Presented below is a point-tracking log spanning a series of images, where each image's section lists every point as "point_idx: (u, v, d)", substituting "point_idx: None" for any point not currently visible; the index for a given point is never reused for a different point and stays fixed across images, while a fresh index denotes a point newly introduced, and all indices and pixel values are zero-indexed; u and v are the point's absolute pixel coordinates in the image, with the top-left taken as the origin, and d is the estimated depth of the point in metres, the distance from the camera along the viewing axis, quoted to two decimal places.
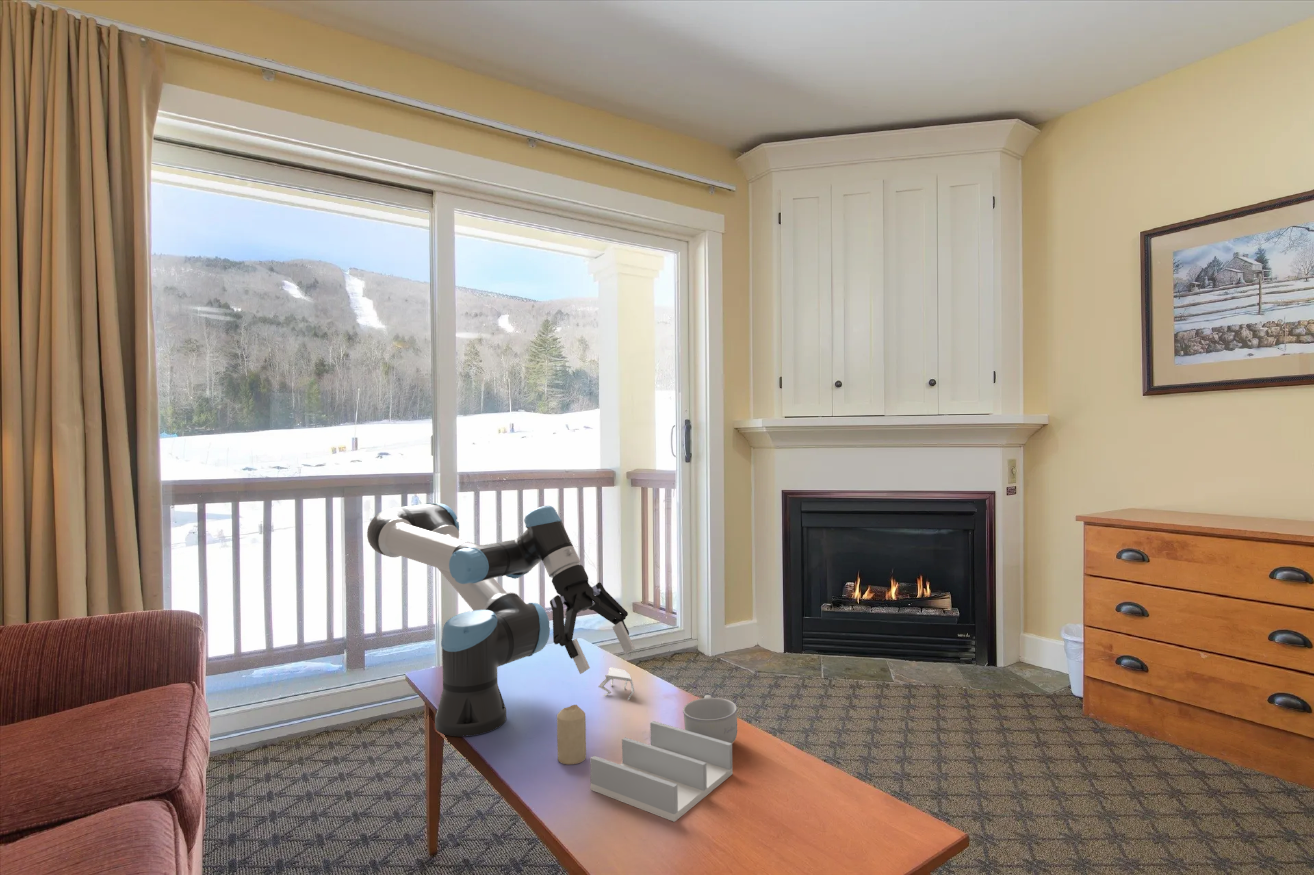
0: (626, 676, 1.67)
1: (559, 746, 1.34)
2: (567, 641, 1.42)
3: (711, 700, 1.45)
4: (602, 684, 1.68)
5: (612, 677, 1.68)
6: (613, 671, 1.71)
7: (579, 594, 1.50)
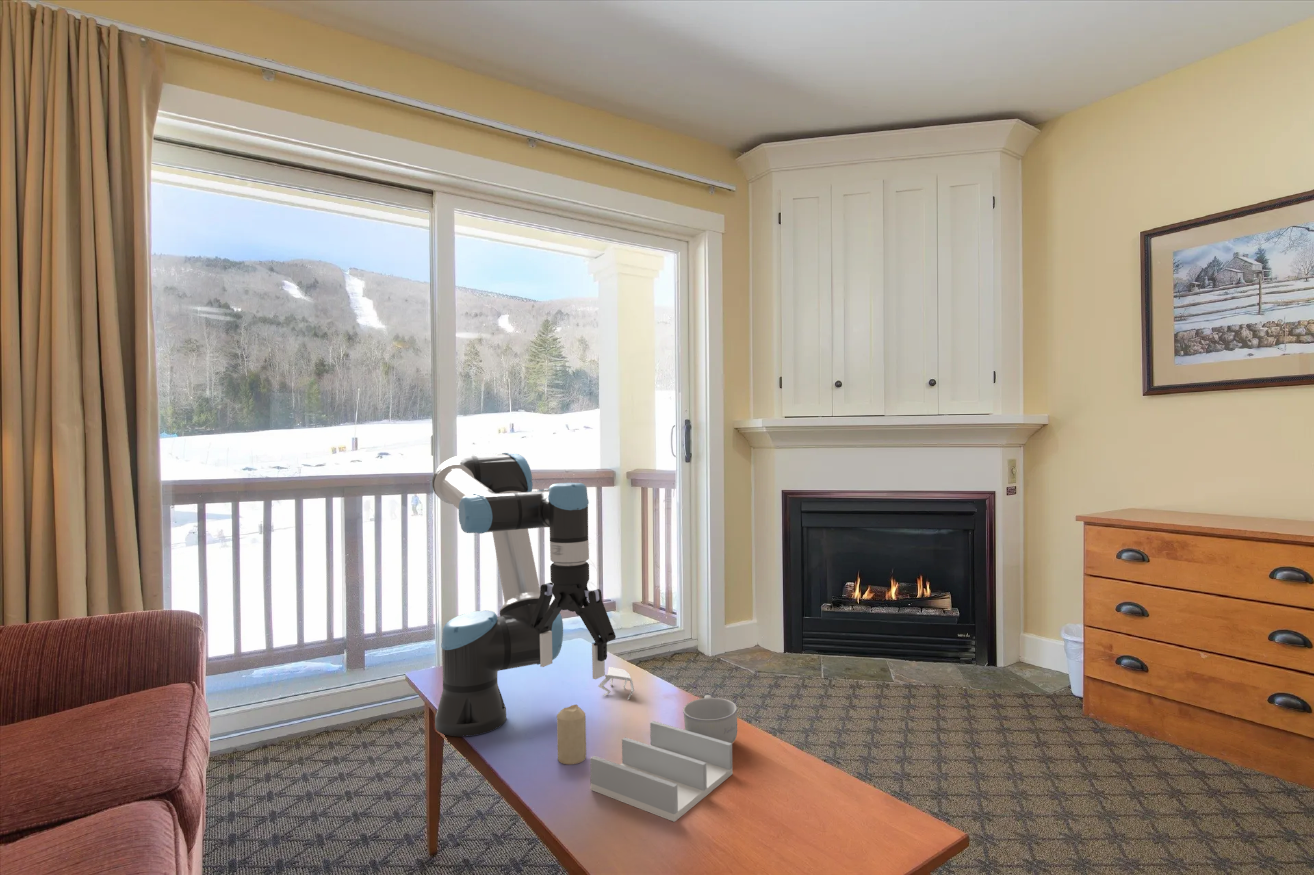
0: (626, 676, 1.67)
1: (559, 746, 1.34)
2: None
3: (711, 700, 1.45)
4: (602, 684, 1.68)
5: (612, 677, 1.68)
6: (612, 670, 1.71)
7: (559, 595, 1.35)
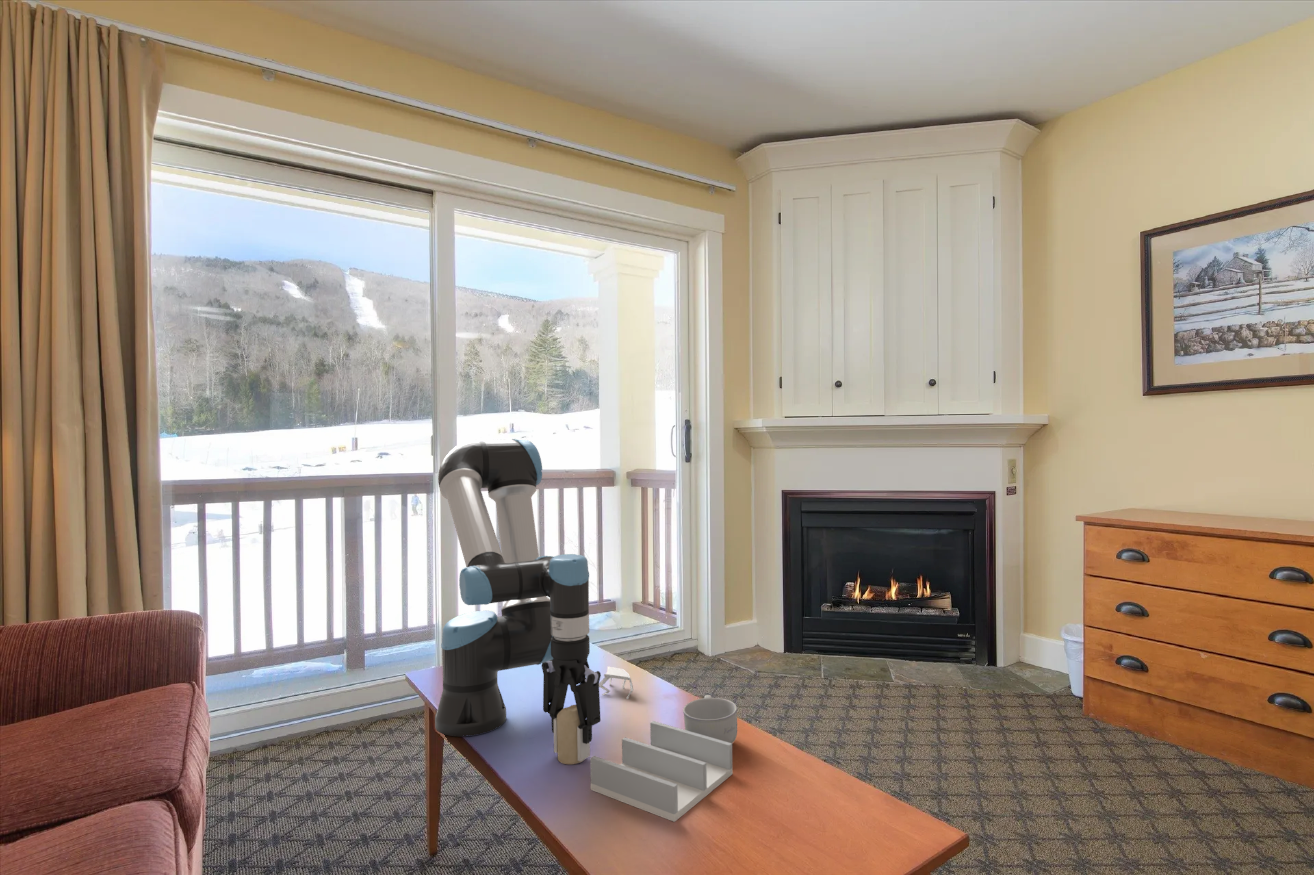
0: (625, 675, 1.68)
1: (559, 746, 1.34)
2: None
3: (711, 700, 1.45)
4: (601, 683, 1.68)
5: (611, 676, 1.68)
6: (611, 670, 1.72)
7: (558, 669, 1.35)
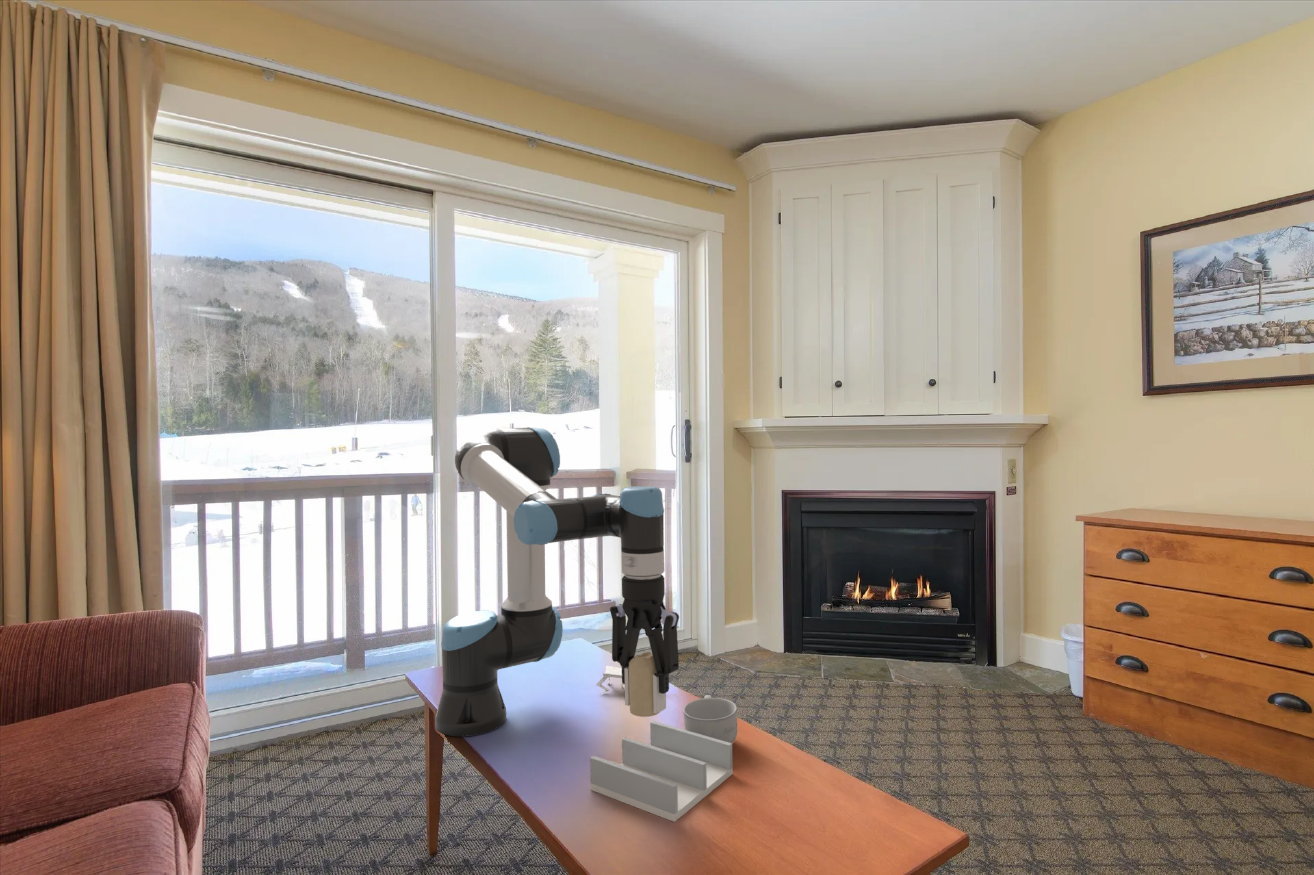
0: None
1: (632, 697, 1.21)
2: None
3: (711, 700, 1.45)
4: (600, 682, 1.69)
5: (610, 675, 1.69)
6: (610, 669, 1.72)
7: (631, 612, 1.22)
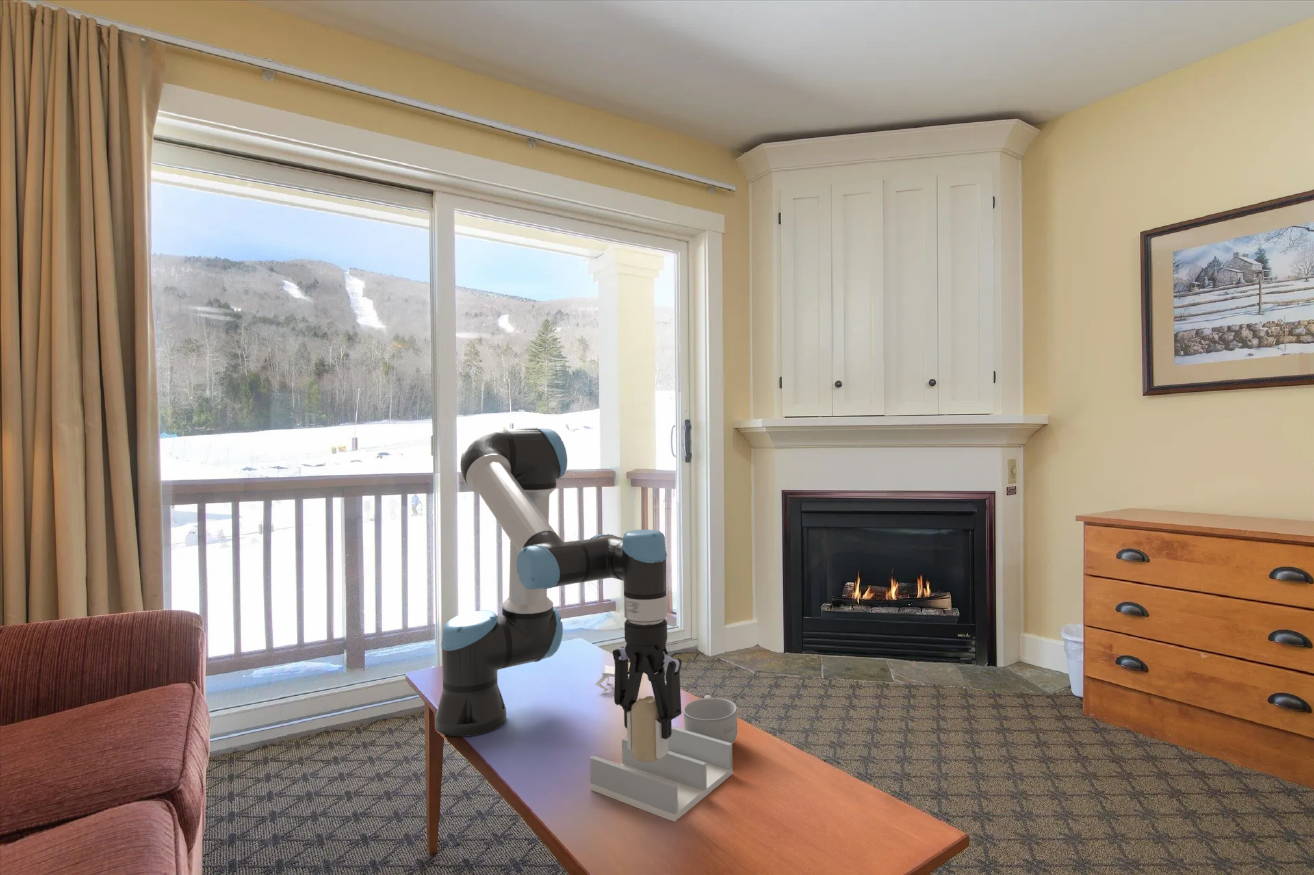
0: None
1: (635, 742, 1.21)
2: None
3: (711, 700, 1.45)
4: (599, 682, 1.69)
5: (609, 675, 1.69)
6: (609, 668, 1.73)
7: (634, 656, 1.21)
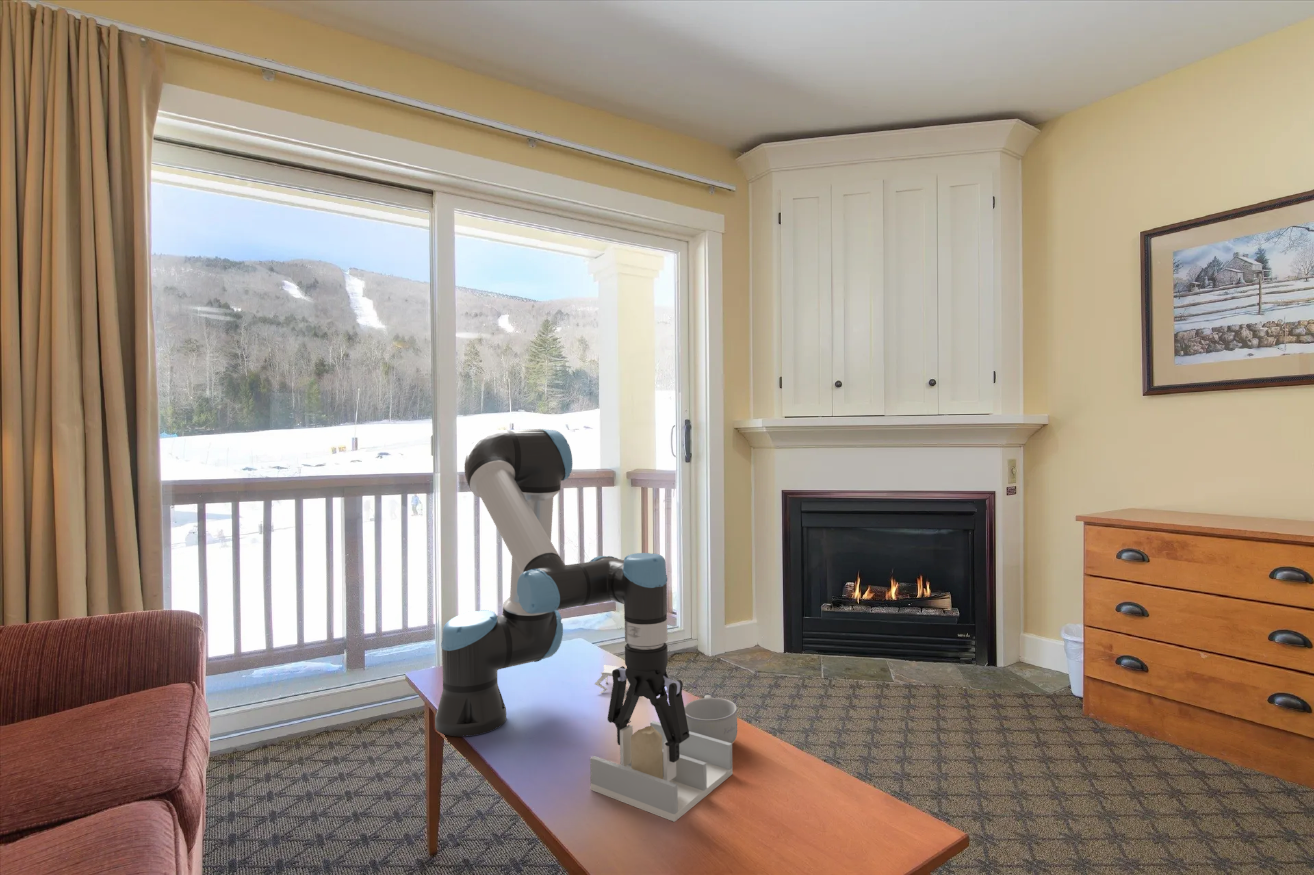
0: None
1: None
2: None
3: (711, 700, 1.45)
4: (598, 681, 1.69)
5: (608, 674, 1.70)
6: (608, 668, 1.73)
7: (634, 680, 1.21)
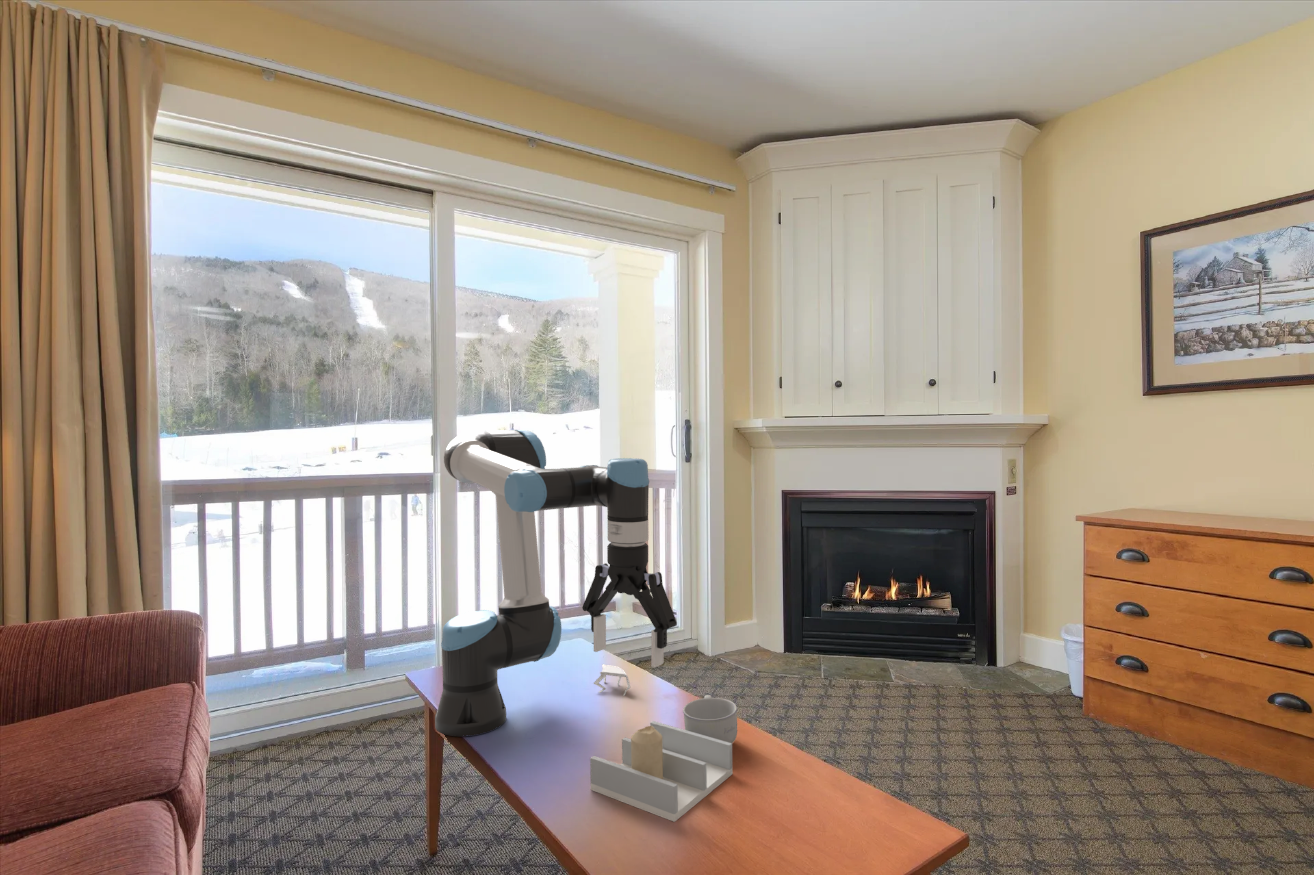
0: (621, 672, 1.70)
1: None
2: None
3: (711, 700, 1.45)
4: (597, 681, 1.70)
5: (607, 674, 1.70)
6: (607, 667, 1.73)
7: (616, 577, 1.27)
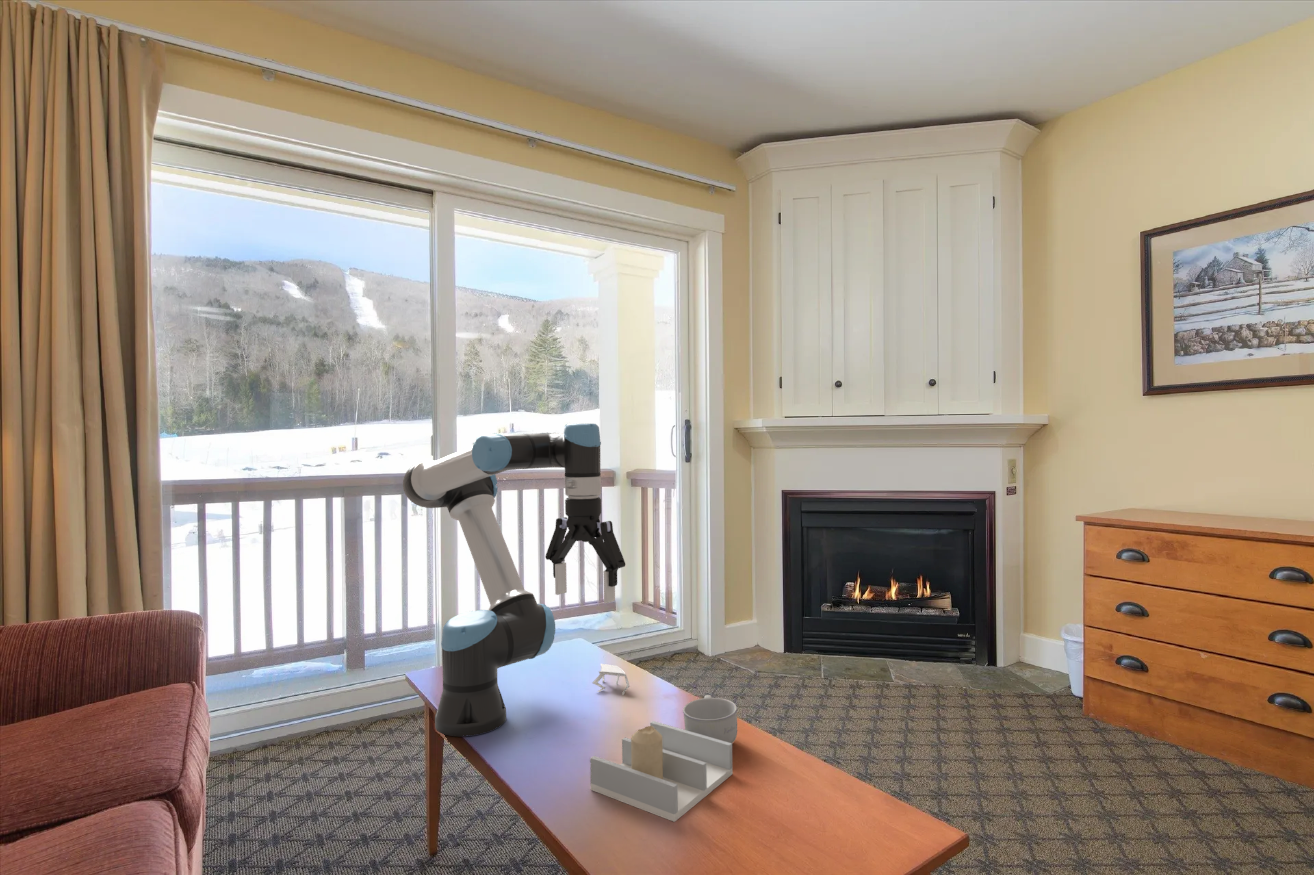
0: (620, 671, 1.70)
1: None
2: None
3: (711, 700, 1.45)
4: (596, 680, 1.70)
5: (606, 673, 1.71)
6: (605, 667, 1.74)
7: (573, 527, 1.46)
